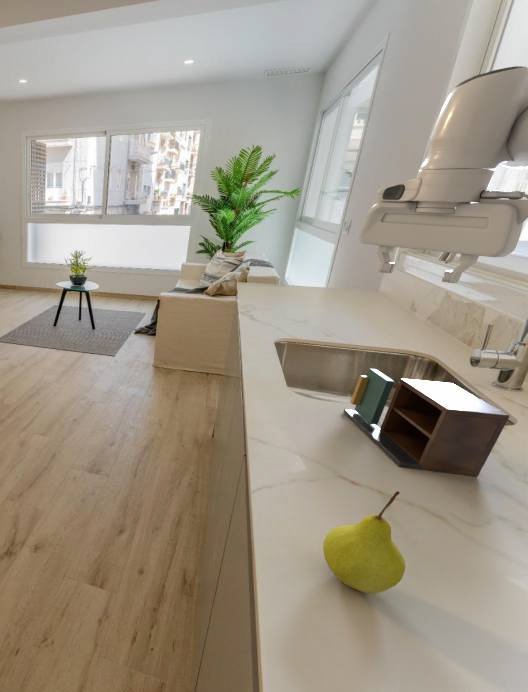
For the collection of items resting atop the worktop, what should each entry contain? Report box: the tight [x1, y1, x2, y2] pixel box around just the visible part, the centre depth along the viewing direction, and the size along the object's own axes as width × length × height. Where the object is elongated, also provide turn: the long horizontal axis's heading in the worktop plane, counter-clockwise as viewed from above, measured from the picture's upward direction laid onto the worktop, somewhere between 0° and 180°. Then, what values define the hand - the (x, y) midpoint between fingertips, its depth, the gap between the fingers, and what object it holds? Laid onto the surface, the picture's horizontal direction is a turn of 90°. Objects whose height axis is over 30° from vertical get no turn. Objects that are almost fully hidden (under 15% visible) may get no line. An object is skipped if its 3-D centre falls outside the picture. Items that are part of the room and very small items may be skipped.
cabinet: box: [342, 378, 510, 478], centre depth 74 cm, size 11×19×11 cm, turn 168°
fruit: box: [322, 490, 406, 595], centre depth 46 cm, size 7×7×12 cm
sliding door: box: [349, 368, 395, 426], centre depth 81 cm, size 2×6×9 cm, turn 168°
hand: (415, 277), depth 73 cm, fingers open, 8 cm apart
